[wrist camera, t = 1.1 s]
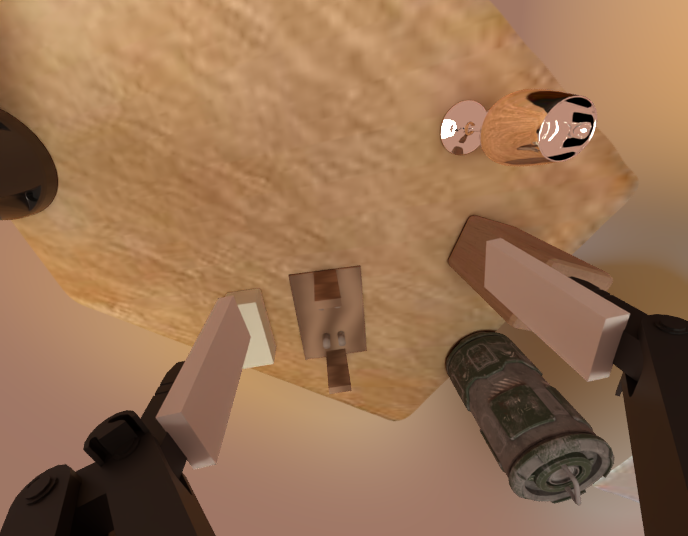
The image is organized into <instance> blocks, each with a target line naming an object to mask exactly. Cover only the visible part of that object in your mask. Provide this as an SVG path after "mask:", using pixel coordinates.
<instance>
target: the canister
mask: <svg viewBox="0 0 688 536" xmlns="http://www.w3.org/2000/svg"><path fill="white" fill-rule="evenodd" d="M446 370H447V373H448V375H449V377H450V379H451V381H452V383H453V385H454V387H455V388H456V390H457V392H458V394H459V396H460V397H461V399H462V401H463V403H464V405H465V406H466V408H467V410H468V411H470V412H471V413H472V414H473V416H474V418H475V419H476V421H477V423H478V425H479V427H480V432H481V434H482V435H483V437H484V439H485V441H486V443H487V444H488V446H489V448H490V449H491V452H492V453H493V455H494V457H495V459H496V461H497V462H498V464H499V466H500V468H501V469H502V470H503V472H505V473H506V475H507V476H508V478H509V485H510V487H511V489H512V490H513V492H514V493H515V494H516V495H517V496H519V497H521V498H525V499H531V500H534V501H551V502H552V503H558V502H562V501H566V500H569V499H573V501H574V502H575V503H576V504H577V505H581V497H580V495H582V494H584V493H585V492H586V491H585V489H586V488H588V487H589V486H591V485H592V484H594V483H595V482H596V481H597V480H599V479H600V478H601V477H602V476H604V477H607V475H608V474H609V472H610V470H611V468H612V466H613V464H614V455H613V452H612V449H611V447H610V446H609V445H608V444H607V443H606V441H604V440H603V439H602V438H600V437H599V436H596V434H595V433H594V432H593V430H592V427H591V426H590V425H589V424H588V423H587V421H586V420H585V419H583V417H582V416H581V415H580V414H579V413H578V412H577V411H576V410H575V409H574V408H573V406H572V405H571V404H570V403H569V402H568V401H567V400H566V399H565V398H564V397H563V396H562V395H561V394H560V393H559V392H558V391H557V390H556V389H555V388H554V387H552V386H550V385H549V384H548V383H547V381H545V379H544V378H543V377H542V373H541V372H540V371H539V370H538V369H537V368H536V366H535V365H534V364H533V363H532V362H531V361H530V360H529V359H528V358H527V357H526V356H525V355H524V354H523V353H522V352H521V351H520V349H519V348H518V347H517V346H516V345H515V344H514V343H513V342H512V341H511V340H510V339H509V338H508V337H506V336H505V335H503V334H500V333H495V332H478V333H475V334H472V335H470V336H468V337H466V338H464V339H462V340H461V341H460V344H459V345H457V346H456V347H455V348H454V350H453V351H452V352H451V354H450V356H448V358H447V361H446Z"/></svg>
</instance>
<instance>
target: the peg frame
mask: <svg viewBox="0 0 688 536" xmlns="http://www.w3.org/2000/svg"><path fill="white" fill-rule="evenodd" d="M289 280H290V285H291V290H292V295H293V300H294V305H295V310H296V315H297V320H298V325H299V330H300V335H301V340H302V344H303V349H304V354H305V359H306V360H307V359H314V358H320V357H326V358H327V372H328V386H329V393H330V394H333V393H339V392H346V391H351V383H350V377H349V370H348V364H347V358H346V354H348V353H355V352H362V351H367V348H366V335H365V321H364V307H363V293H362V280H361V267H360V266H353V267H345V268H338V269H330V270H322V271H314V272H307V273H299V274H291V275H289Z"/></svg>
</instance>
